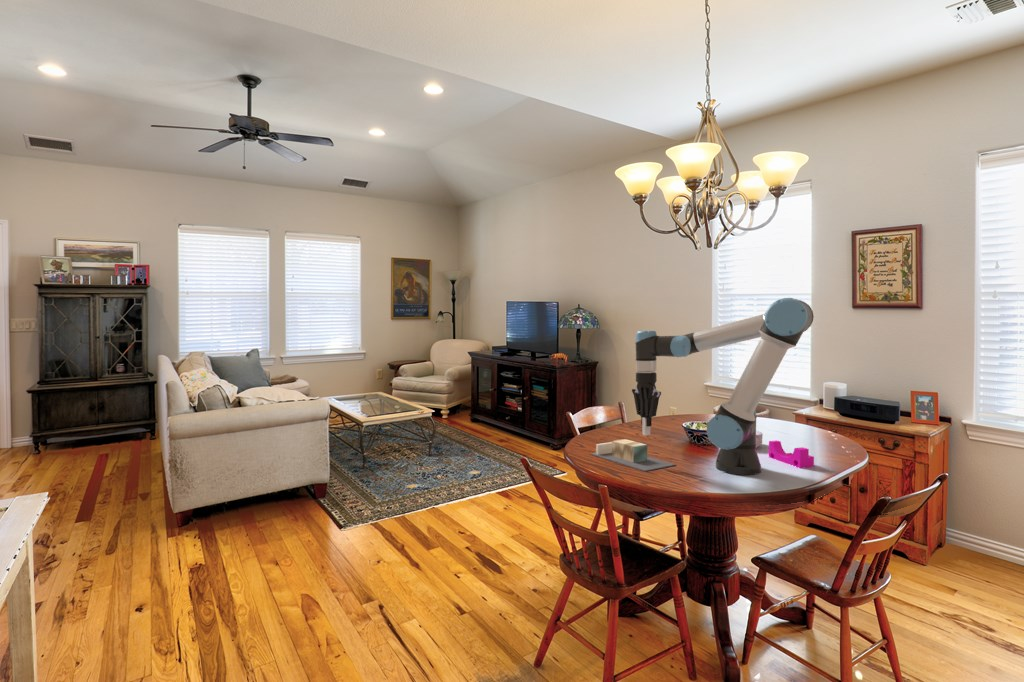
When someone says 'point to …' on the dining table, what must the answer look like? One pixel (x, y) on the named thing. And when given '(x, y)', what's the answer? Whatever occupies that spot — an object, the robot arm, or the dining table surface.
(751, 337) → the robot arm
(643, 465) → the gray ramp
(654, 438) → the dining table surface
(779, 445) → the toy block
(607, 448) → the stop rail
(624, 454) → the beech block
